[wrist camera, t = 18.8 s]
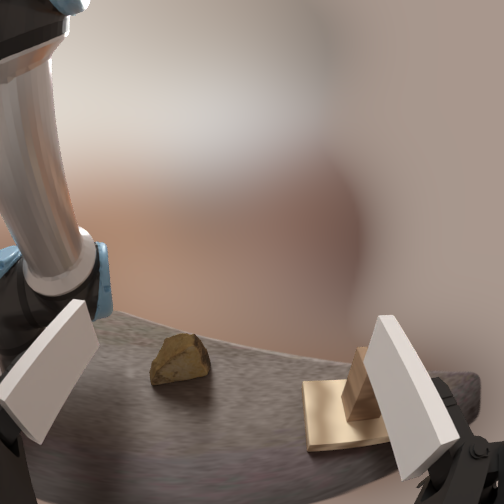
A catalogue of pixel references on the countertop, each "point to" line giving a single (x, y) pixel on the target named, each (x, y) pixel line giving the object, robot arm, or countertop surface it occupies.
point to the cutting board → (335, 420)
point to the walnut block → (359, 392)
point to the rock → (180, 360)
